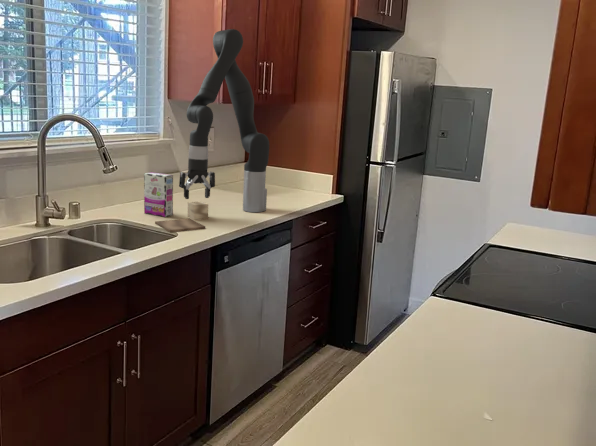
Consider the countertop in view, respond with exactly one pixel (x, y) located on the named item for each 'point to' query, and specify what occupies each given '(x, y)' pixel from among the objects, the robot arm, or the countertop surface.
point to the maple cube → (197, 210)
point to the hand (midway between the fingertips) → (196, 198)
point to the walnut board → (179, 225)
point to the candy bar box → (158, 194)
